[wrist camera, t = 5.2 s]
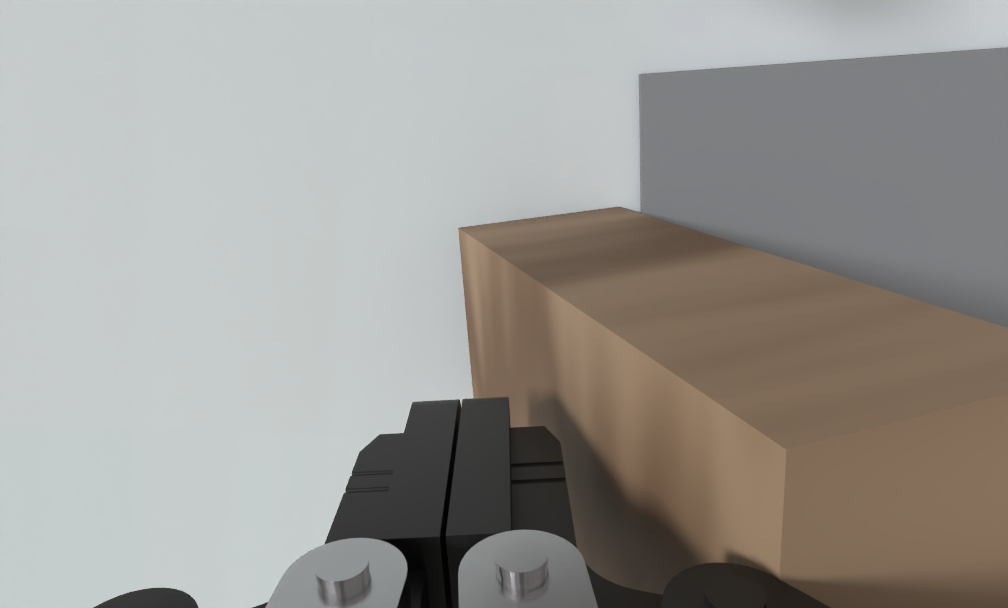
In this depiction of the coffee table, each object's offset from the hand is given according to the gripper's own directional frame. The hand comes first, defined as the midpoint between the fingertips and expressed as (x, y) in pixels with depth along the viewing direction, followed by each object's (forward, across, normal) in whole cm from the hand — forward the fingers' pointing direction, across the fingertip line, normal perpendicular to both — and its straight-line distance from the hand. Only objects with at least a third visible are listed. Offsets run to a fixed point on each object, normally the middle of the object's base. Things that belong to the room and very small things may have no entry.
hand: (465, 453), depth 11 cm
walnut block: (+6, -2, 0) cm, 7 cm away
